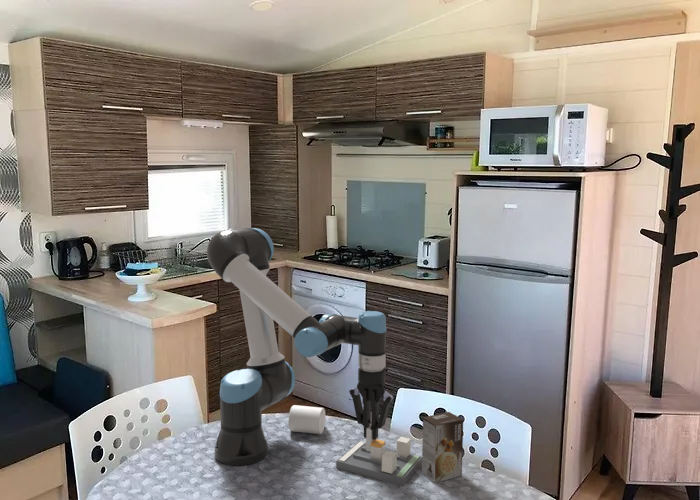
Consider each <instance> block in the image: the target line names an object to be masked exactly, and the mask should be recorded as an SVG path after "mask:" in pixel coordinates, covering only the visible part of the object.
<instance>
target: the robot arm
mask: <svg viewBox="0 0 700 500" xmlns="http://www.w3.org/2000/svg"><path fill="white" fill-rule="evenodd" d="M274 247H275V246H274V243H273V240H272V238H271V237H270V235H269V234H268V233H267V232H265V231H264V230H262V229H260V228H255V227H254V228H253V227H245V228H239V229H231V230H229V229H227V230H222V231H219V232H218V233H216V234H215V235H213V237H212V238H211V239H210V240H209V242H208V245H207V248H206V258H207V261H208V263H209V266H211V268H212V270H213V271H214V272H215V273H216V274H217V276H219V277H220V278H221V279H222V280H223V281H224V282H226V283H232V284H233V285H234V286H235V287H236V288H238V290H239V295H240V301H241V308H242V314H243V319H244V325H245V331H246V337H247V342H248V349H249V355H250V358H249V359H248V361H247V362H246V367H247V368H242V369H239V370H238V369H236V370H233V371H231V372H228V373H227V374H226V375H224V376H223V377H222V379H221V381H220V387H219V409H220V410H219V411H220V429H219V434H218V436H217V438H216V442H215V446H214V457H215V459H216V460H217V461H218V462H219V463H221V464H224V465H228V466H246V465H247V466H248V465H250V464H255V463H257V462H260V461H262V460H263V459H265V458H266V456H267V455H268V452H269V447H268V446H269V445H268V441H267V439H266V435H265V432H264V430H263V426H262V424H263V423H262V422H263V421H262V419H263V418H262V417H263V416H262V413H263V412H262V411H265V409H266V410H267V409H268V408H269V407H272V405H274V404H277V403H280V402H281V401H283V400H284V399H285V398H286V397H288V396H289V395H290V394H291V393H292V391H293V390H294V388H295V386H296V385H295V384H296V375H295V371H294V369H293V367H292V366H291V365H290V364H289V362H287V361H286V358H285V355H284V354H282V353H281V352H279V347H278V341H277V334H276V329H275V323H274V322H276V323H277V324H278V325H279V326H280V327H281V328H282V329H284V331H285V332H287V333H288V334H289V335H290V336H291V337H292V338H293V339H294V346H295V348H296V350H297V352H298V353H299V354H300V355H301V356H302V357H304V358H305V357H306V358H313V357H316V356H320V355H322V354H323V353H324V352H326V351H328V350H331V349H333V348H335V347H337V346H339V345H341V344H346V345H353V346H356V345H357V347H358V348H357V349H358V351H357V352H358V358H357V359H358V360H357V361H358V364H357V365H358V369H357V381H358V383H357V384H356V387H355V386H354V387H352V388H351V389H349V391H348V392H349V394H350V396H351V398H352V402H353V407H354V412H355V417H356V422H357V424H358V425H361V426H363V437H364V439H366V440H365V441H366V442H365V443H366V451H369V452H371V443H372V442H373V441H374V440H376V439H377V440H378V438H379V429H382V428H383V427H384V426H385V424H386V422H387V418H388V414H389V410H390V406H391V403H392V401H393V400H394V399H395V395H394V394H393V393H392V394H390V393H389V392H388V391H387V387H386V369H385V368H386V366H387V365H386V361H387V360H386V358H387V357H386V355H387V354H386V352H387V351H386V349H387V348H386V347H387V345H386V343H387V319H386V318H387V317H386V315H385V314H384V313H383V312H380V311H377V310H373V311H372V310H367V311H366V310H364V311H361V312H360V313H359V315H358V317H356V316H355V317H354V316H349V315H348V316H347V315H340V314H336V313H334V314H329V313H327V314H324V315H322V316H321V318H320V319H319V321H318V320H317V319H316V318H315V317H313V315H311V314H310V313H309V312H308V311H306V309H305V308H303V307H302V306H301V305H299V304H298V303H297V301H295V300H294V299H293V298H292V297H290V295H288V294H287V292H285V291H284V290H282V288H280V287H279V286H278V285H277V284H276V283H275V282H273V281H272V280H271V279H270V278H269V277H268V276H267V274H268V272H269V271H270V270H271V268H270V263H269V262H270V261H271V259H272V257H273V255H274V250H275V249H274ZM361 397H362V398H361ZM382 398H383V403H382V406H381V409H380V403H381V399H382Z"/></svg>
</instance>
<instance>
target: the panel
mask: <svg viewBox="0 0 700 500" xmlns="http://www.w3.org/2000/svg"><path fill="white" fill-rule="evenodd" d="M386 451H390V452H394V453H396V451H397V449H392V448H388V447H385V452H386ZM335 464H336V465H335V466H336V467H335V468H336V469H340V470H344V471H347V472H350V473H354V474H357V475H361V476H365V477H369V478H372V479H376V480H379V481H384V482H387V483H391V484H393V485H397V486H401V487H404V486H405V485H406V484H407V482H408V481H409V480H411V478H412V476H413V475H414V474H416V471H417V470H418V469H419V468H420V467H422V455H416V454H413V453H410V455H409V456H408V457H407V458H406V457H402V456H398V455H397V465H396V470H395V471H394V472H393V473H392V474H391V473H387V472H384V471H382V460H377V459H373V458H371V452H369V451H366V442H364V441H357V442H356V443H355V444H353V446H352V447H350V448H349V449H348V450H347V451H346V452H345V453H344V454H342V455H341V456H340V457H338V459H337V460H336V461H335Z"/></svg>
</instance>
